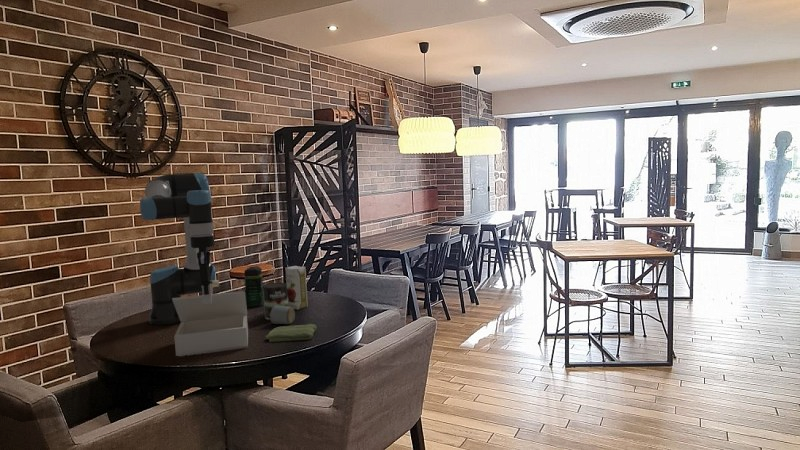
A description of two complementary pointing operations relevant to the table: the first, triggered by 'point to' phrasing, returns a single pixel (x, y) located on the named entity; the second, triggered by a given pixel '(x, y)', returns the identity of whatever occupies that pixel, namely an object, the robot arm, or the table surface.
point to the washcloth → (292, 333)
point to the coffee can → (274, 297)
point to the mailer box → (211, 335)
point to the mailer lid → (211, 305)
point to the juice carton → (296, 287)
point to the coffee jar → (254, 286)
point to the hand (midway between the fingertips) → (207, 303)
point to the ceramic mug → (282, 315)
